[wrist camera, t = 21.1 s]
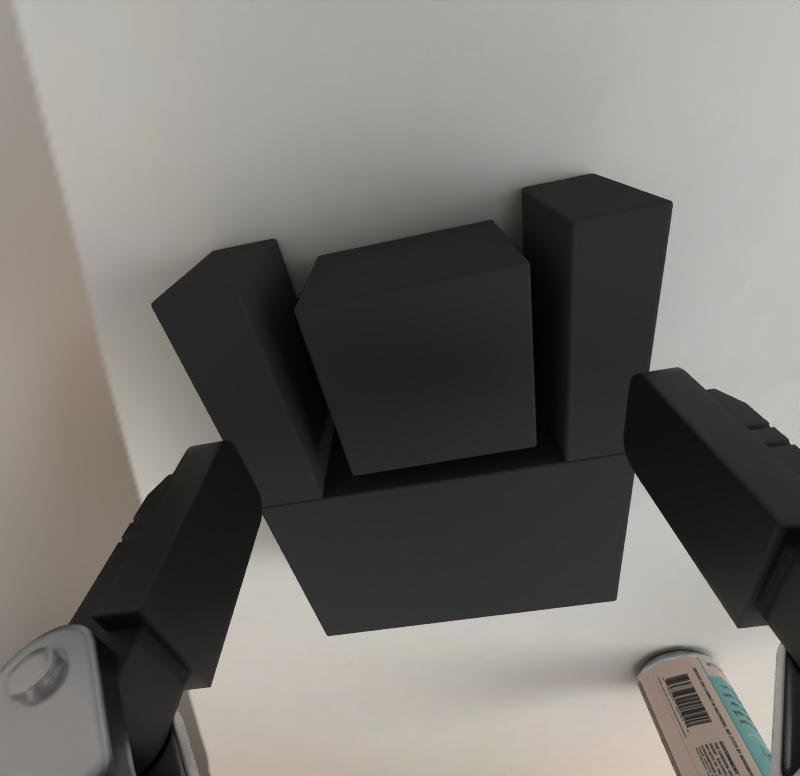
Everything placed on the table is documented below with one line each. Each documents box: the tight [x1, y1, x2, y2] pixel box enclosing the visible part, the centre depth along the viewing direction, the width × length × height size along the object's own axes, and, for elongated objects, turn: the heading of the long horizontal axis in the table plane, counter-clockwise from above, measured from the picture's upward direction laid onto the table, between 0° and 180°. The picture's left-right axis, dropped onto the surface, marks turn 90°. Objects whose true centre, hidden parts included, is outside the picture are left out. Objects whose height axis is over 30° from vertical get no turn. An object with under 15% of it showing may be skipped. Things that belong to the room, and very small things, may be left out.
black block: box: [294, 220, 537, 476], centre depth 12 cm, size 5×5×4 cm
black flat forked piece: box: [151, 174, 673, 636], centre depth 14 cm, size 14×11×4 cm
